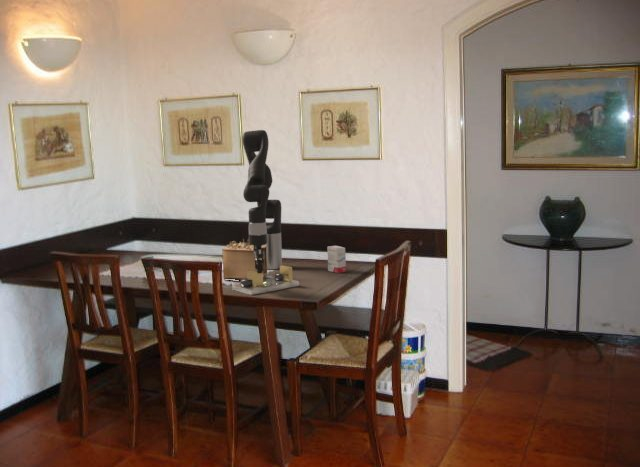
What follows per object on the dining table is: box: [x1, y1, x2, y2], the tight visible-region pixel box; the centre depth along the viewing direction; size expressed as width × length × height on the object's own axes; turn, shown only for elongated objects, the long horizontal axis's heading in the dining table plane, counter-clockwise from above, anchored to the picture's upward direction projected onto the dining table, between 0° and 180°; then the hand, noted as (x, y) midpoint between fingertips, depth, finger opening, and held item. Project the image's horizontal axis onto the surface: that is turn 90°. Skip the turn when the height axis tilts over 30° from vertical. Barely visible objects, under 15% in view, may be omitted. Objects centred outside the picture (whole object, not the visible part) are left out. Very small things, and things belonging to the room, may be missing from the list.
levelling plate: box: [231, 276, 300, 296], centre depth 312 cm, size 14×25×5 cm, turn 130°
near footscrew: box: [240, 271, 263, 287], centre depth 307 cm, size 9×5×6 cm, turn 90°
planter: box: [221, 238, 274, 280], centre depth 330 cm, size 25×25×19 cm
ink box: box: [326, 245, 347, 274], centre depth 344 cm, size 9×5×12 cm, turn 33°
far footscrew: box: [274, 264, 293, 282], centre depth 317 cm, size 9×5×6 cm, turn 40°
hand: (258, 271), depth 308 cm, fingers open, 8 cm apart
